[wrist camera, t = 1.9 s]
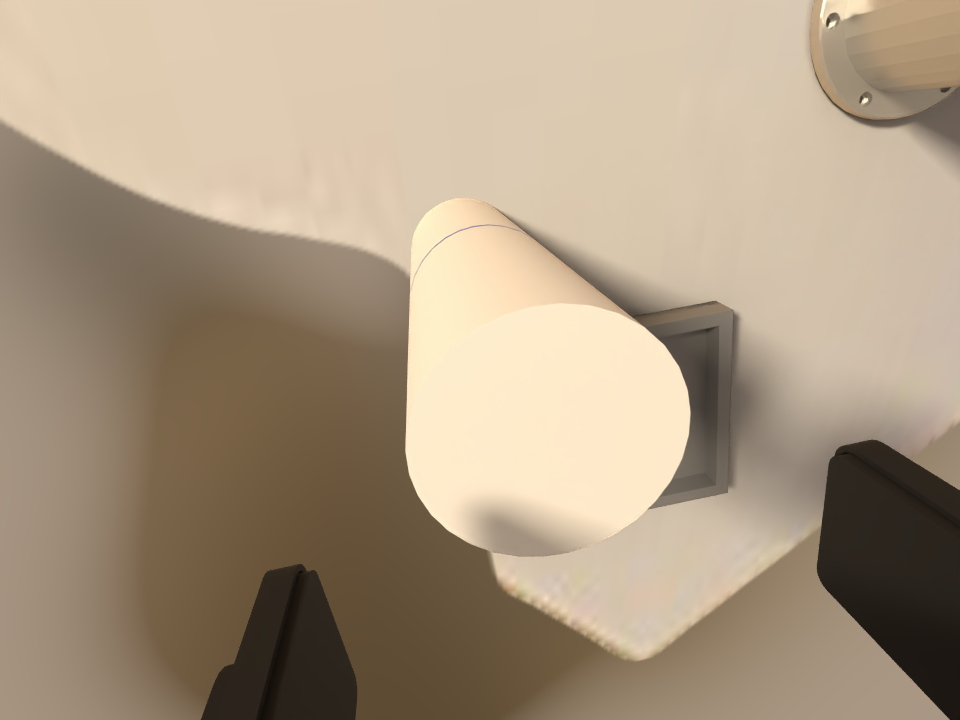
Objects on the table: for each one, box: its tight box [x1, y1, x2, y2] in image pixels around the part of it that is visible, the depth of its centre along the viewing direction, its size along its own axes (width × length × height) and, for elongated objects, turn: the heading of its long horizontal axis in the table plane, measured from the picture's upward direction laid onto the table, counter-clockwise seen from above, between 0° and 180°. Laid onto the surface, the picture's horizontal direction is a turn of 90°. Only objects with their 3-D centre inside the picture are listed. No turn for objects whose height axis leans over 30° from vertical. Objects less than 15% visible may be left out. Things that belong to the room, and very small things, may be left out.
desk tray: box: [632, 301, 733, 509], centre depth 41 cm, size 16×16×2 cm
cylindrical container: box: [406, 198, 691, 556], centre depth 25 cm, size 7×7×25 cm
